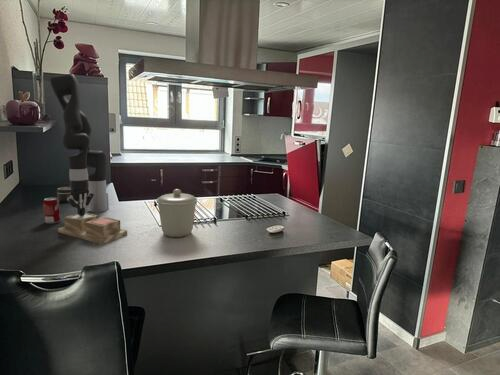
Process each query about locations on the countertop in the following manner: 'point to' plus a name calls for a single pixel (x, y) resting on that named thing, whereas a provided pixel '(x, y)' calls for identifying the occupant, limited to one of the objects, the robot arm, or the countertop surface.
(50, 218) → the soda can
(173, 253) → the countertop surface
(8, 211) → the countertop surface
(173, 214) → the canister
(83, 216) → the white key
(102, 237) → the frame
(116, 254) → the countertop surface
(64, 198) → the jar
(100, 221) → the red key
